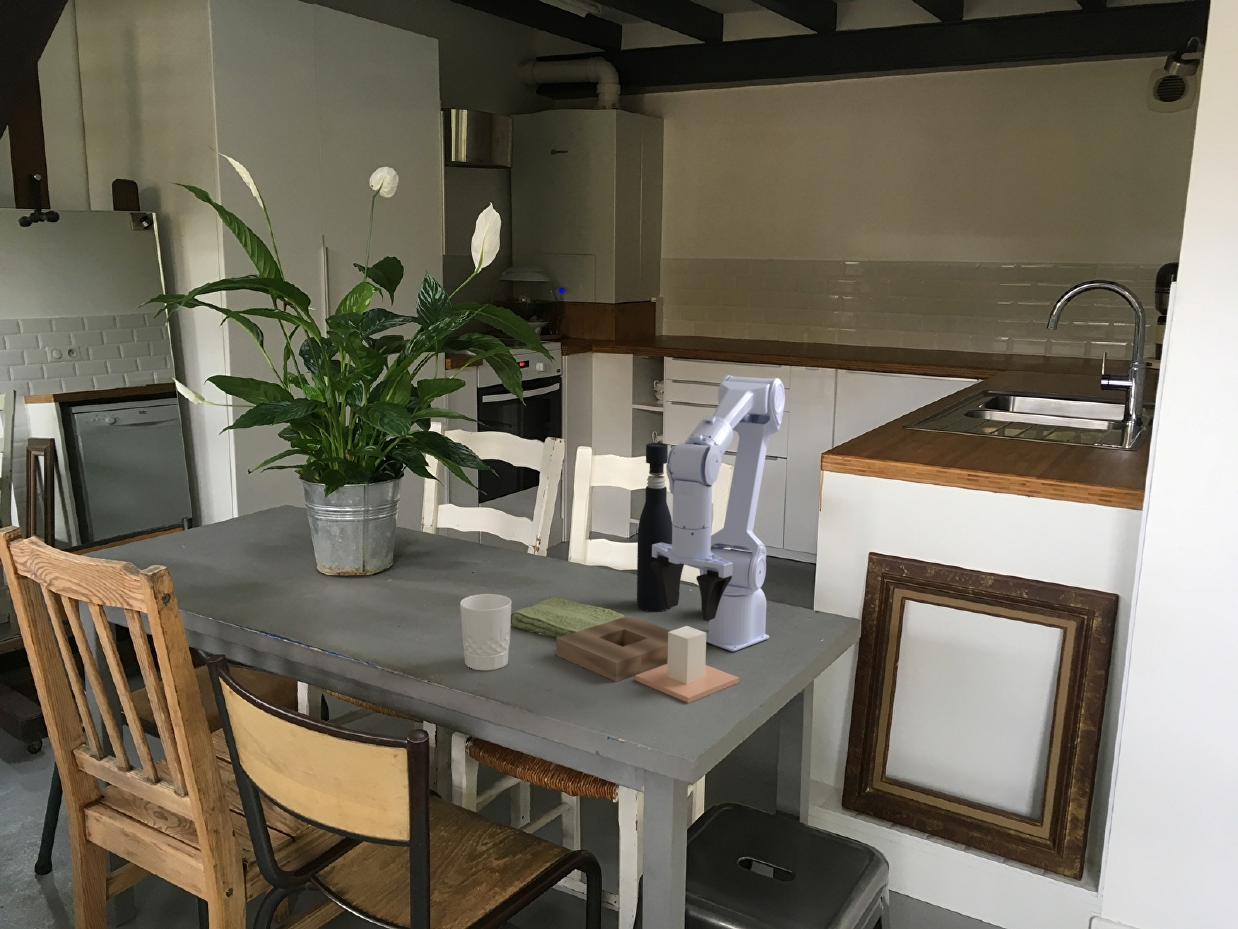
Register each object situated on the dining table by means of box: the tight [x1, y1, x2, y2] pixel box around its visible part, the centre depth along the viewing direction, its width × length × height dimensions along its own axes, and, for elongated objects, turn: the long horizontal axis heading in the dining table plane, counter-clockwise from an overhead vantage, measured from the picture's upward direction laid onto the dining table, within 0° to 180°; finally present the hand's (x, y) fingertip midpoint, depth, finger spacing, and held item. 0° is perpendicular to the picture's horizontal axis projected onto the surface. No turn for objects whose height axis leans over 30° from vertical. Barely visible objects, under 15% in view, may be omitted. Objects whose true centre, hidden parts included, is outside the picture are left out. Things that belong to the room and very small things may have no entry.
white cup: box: [459, 593, 512, 671], centre depth 161 cm, size 8×8×10 cm
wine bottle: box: [636, 442, 673, 612], centre depth 187 cm, size 6×6×30 cm
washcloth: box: [511, 597, 626, 638], centre depth 179 cm, size 13×18×3 cm
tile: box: [634, 663, 740, 704], centre depth 156 cm, size 11×11×1 cm
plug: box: [667, 625, 707, 684], centre depth 155 cm, size 4×4×7 cm
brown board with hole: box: [555, 615, 671, 682], centre depth 165 cm, size 16×14×3 cm
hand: (689, 612), depth 155 cm, fingers open, 7 cm apart
